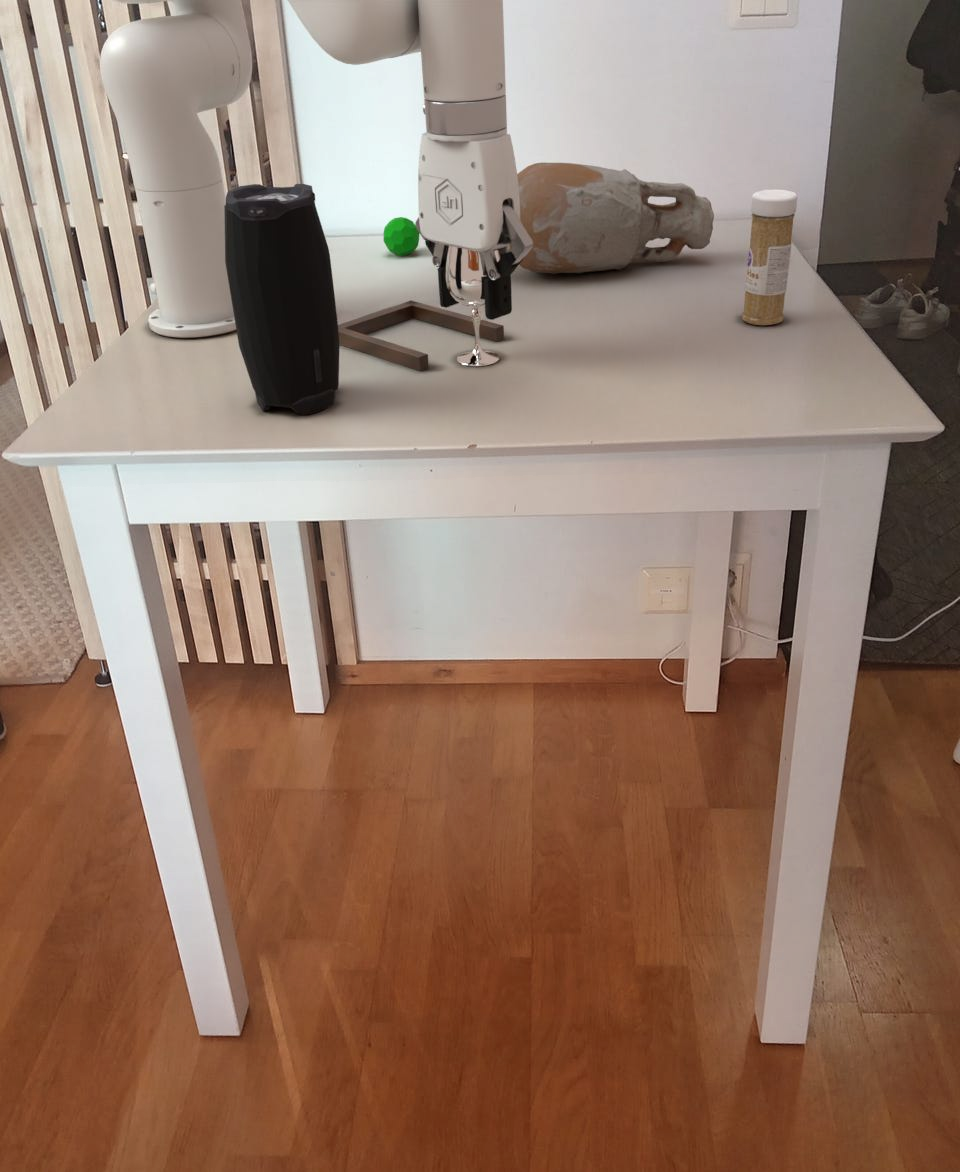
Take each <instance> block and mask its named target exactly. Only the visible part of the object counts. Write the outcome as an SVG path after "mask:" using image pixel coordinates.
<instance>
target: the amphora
mask: <svg viewBox="0 0 960 1172" xmlns="http://www.w3.org/2000/svg"><path fill="white" fill-rule="evenodd" d="M517 177H518V186H519V198H520V221H521V223H522V224H523V226H524V228H525V229H526V231H527V233H528V234H529V236H530V237H531V239H532V241H533V244H534V245H533V248H532V249H531V250H530V251H529V253H528V254H527V255H526V256H525V257H523V260H522V262H521V263H520V264H519V265H518V266H520V267H521V268H523V269H525V270H528V271H530V272H535V273H542V274H543V273H544V274H552V275H557V274H561V273H562V274H579V275H580V274H583V273H589V272H602V271H603V272H604V271H609V270H618V271H620V270H623V269H624V268H626V267H627V266H628V265H629V263H631V262H651V263H652V262H653V263H656V262H659V263H667V262H668V261H674V260H675V259H676V258H677V257H678V256H679V255H680V253H681V252H682V250H683V249H684V248H685V246H686V247H687V248H688V249H691V250H703V249H705V248H707V246H708V245H709V244H710V243H711V237H712V235H713V230H714V220H715V213H714V211H713V207H712V203H711V201H710V200H709V199H708V198H707V197H705V196H700V195H696V193H695V190H694V189H693V188H692V187H691V186H689V185H687V184H685V183H682V182H677V183H676V182H675V183H668V182H658V181H657V182H656V181H644V180H641V179H639V178H638V177H637V176H636V175H635V174H634V173H631V172H630V171H629V170H627V169H625V168H623V169H622V170H617V169H614V168H607V167H601V166H597V165H591V164H590V165H589V164H581V163H573V162H572V163H571V162H536V163H533V164H530V165H528V166H526V167H525V168H523V169H522V170H521V171H519V172H517ZM650 197H653V198H654V197H656V198H675V201H674V202H670V203H666V204H656V203H651V202H649V198H650ZM656 239H660V240H665V239H669V242H668V243H667V244H666V245H664V246H656V247H655V246H654V247H653V246H651V247H650V246H647V244H648V243H649V242H650V241H655V240H656ZM509 244H510V248H511V246H512V243H509Z"/></svg>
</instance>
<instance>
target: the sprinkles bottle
mask: <svg viewBox="0 0 960 1172" xmlns="http://www.w3.org/2000/svg"><path fill="white" fill-rule="evenodd" d="M750 204H751V206H750V212H751V217H752V218H751V228H750V240H749V247H748V253H747V267H746V276H745V285H744V290H745V291H744V302H743V311H742V313H741V319H742V320H743V321H744V322H745V323H748V324H750V325H754V326H772V325H776V324H779V323H782V322H783V320H784V317H785V315H784V306H785V300H786V299H785V298H786V297H785V296H786V292H787V287H788V280H789V279H788V278H789V269H790V260H791V252H792V251H791V250H792V236H793V226H794V218H795V213H796V212H797V207H798V206H797V205H798V194H797V193H796V192H794V191H792V190H786V189H763V190H759V191H756V192H753V194H752V197H751V203H750Z"/></svg>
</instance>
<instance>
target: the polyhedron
mask: <svg viewBox="0 0 960 1172" xmlns="http://www.w3.org/2000/svg"><path fill="white" fill-rule="evenodd" d="M419 242H420V233H419V232H418V230H417V229H416V226H415V222H414V221H413V220H411V219H409V218H408V217H403V216H398V217H394V218H393V219H391V220H390V221H389V222H388V223H387V224H386V225H385V226H384V229H383V243H384V244H385V247H386V248H387V250H388V251H389V252H390V253H392V254H394V255H396V256H400V257H403V256H409V255H410V254H412V253H413V252H414V251H415V250H416V249H417V248H418V247H419Z"/></svg>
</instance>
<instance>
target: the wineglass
mask: <svg viewBox="0 0 960 1172" xmlns="http://www.w3.org/2000/svg"><path fill="white" fill-rule="evenodd" d="M494 252H495V256H496V259H497V262H498V261H499V260H500V254H499V251H498V250H496V251H494ZM487 278H489V276H488V272H487V269H486V266H485V262H484V259H483V255H482V252H478V251H472V250H467V249H462V248H457V247H453V246H448V252H447V257H446V267H445V279H446V285H447V289H448V292H449V293H450V295H451V297H452V298H453V299H454V300H456V301H457V302H459V303H458V304H461V305H463V306H466V307H471V308H472V310H471V313H470V317H472V321H473V325H474V330H475V335H474V347H473V350H472V351H471V350H470V351H466V352H463V353H461V354H460V355H458V356H457V358H456V361H457V363H458V364H460V365H462V366H467V367H484V366H490V365H493V364H496V363H498V361H499V360H500V355H499V354H498V353H497V352H494V351H490V350H484V349H483V348H482V347H481V342H480V340H481V339H480V337H479V326H480V321H481V320H482V313H481V310H480V308H479V307H481V306H485V296H484V279H487Z"/></svg>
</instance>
